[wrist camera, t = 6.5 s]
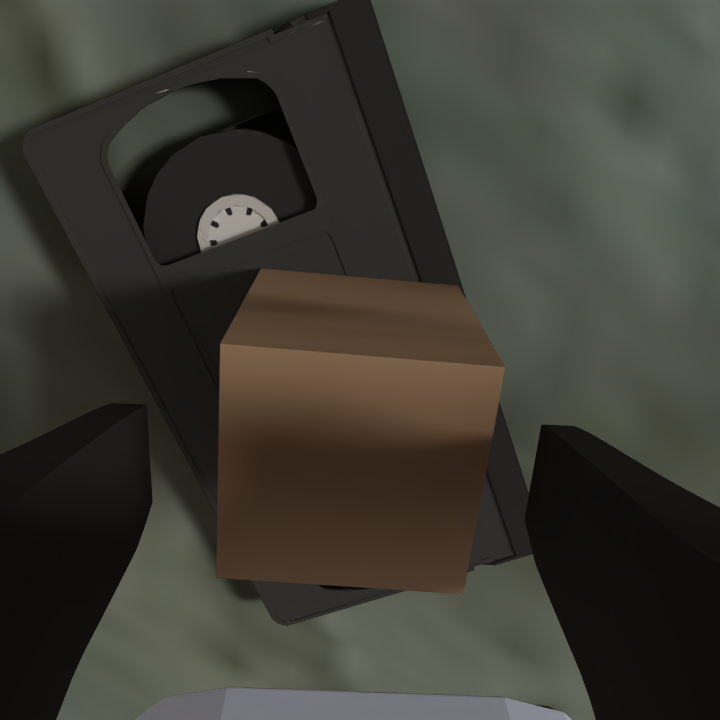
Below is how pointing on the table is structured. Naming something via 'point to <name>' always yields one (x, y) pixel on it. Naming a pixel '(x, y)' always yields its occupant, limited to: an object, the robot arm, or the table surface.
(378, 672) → the table surface
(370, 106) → the vhs tape
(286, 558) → the walnut block
